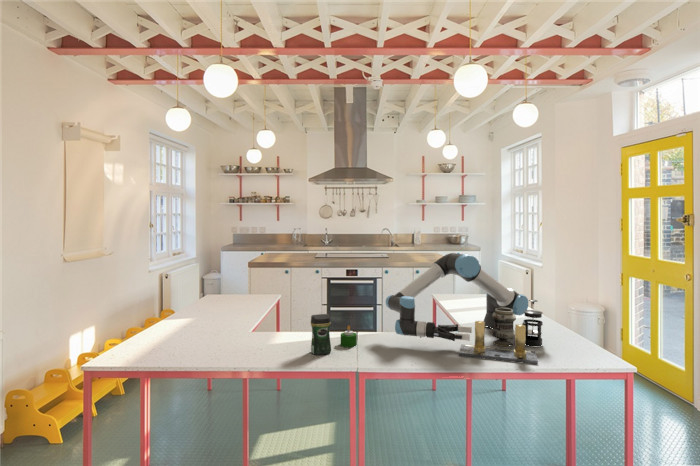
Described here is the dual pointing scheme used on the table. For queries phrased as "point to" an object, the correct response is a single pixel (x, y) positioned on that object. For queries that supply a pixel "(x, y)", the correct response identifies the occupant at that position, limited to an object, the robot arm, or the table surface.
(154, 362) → the table surface
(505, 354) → the bolt plate
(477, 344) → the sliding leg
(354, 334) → the candle
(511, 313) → the grey brown stone vase
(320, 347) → the coffee jar
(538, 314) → the french press
